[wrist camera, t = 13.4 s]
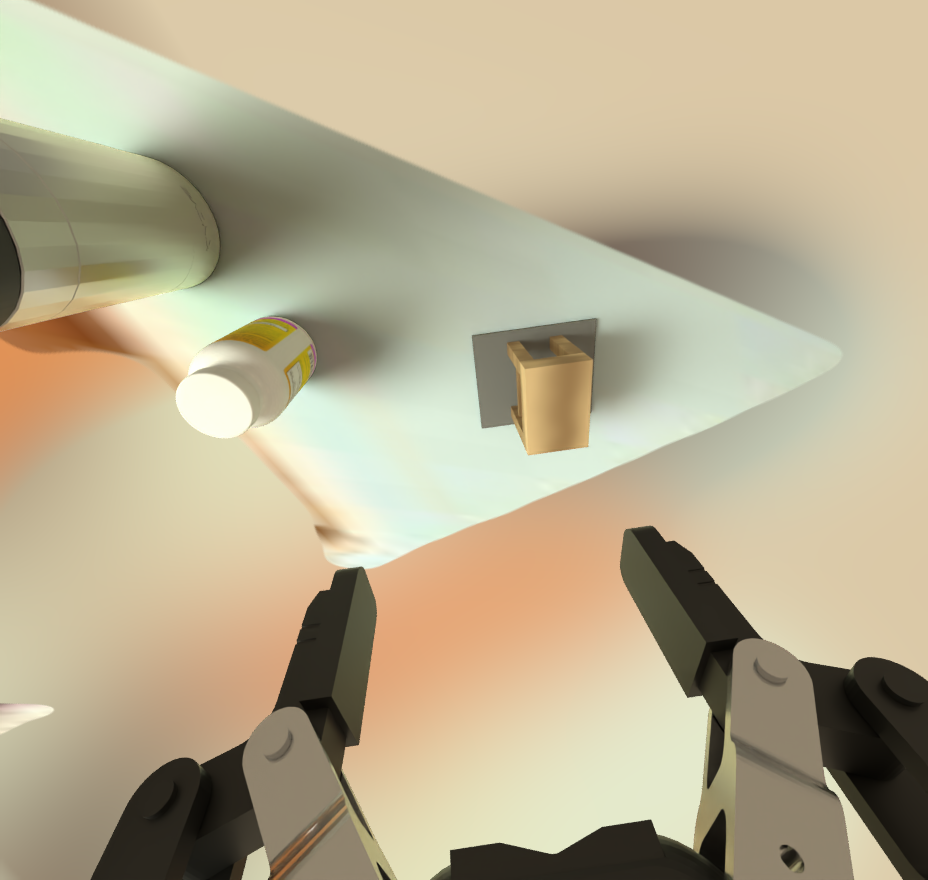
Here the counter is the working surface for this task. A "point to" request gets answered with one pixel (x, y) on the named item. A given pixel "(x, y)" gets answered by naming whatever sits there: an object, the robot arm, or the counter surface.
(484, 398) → the rubber mat
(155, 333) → the counter surface
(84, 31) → the counter surface
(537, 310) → the counter surface
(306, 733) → the robot arm
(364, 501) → the counter surface
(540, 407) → the notched wooden block
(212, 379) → the supplement bottle
